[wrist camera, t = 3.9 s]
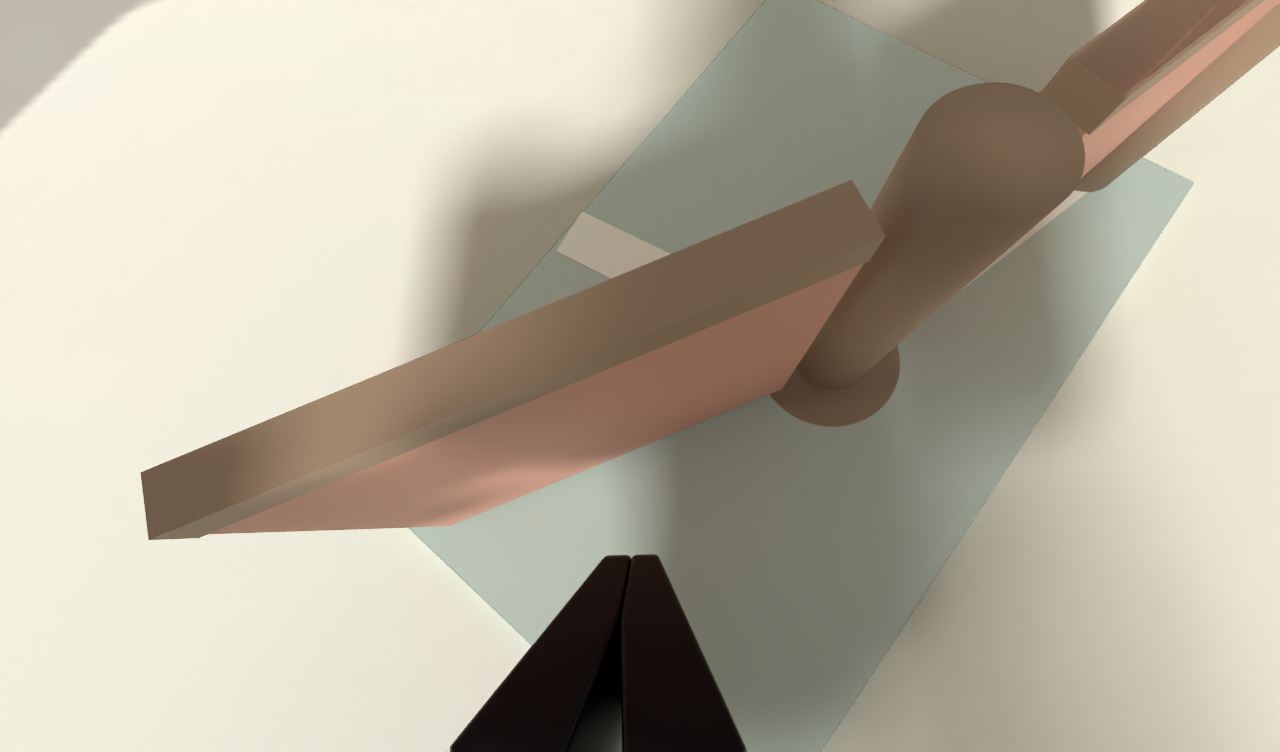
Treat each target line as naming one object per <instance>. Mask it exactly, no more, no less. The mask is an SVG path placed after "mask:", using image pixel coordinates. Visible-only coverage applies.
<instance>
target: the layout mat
mask: <svg viewBox="0 0 1280 752" xmlns="http://www.w3.org/2000/svg"><path fill="white" fill-rule="evenodd" d="M979 83H987V82H985V81H983V80H981V79H979V78H977V77H975V76H973V75H971V74H969V73H967V72H965V71H963V70H960V69H958V68H956V67H954V66H952V65H950V64H948V63H946V62H944V61H942V60H940V59H938V58H936V57H934V56H931V55H929V54H927V53H925V52H923V51H921V50H919V49H917V48H915V47H913V46H911V45H909V44H907V43H905V42H903V41H900V40H898V39H896V38H894V37H892V36H890V35H888V34H886V33H884V32H882V31H880V30H878V29H876V28H874V27H871V26H869V25H867V24H865V23H863V22H861V21H859V20H857V19H855V18H853V17H851V16H849V15H847V14H845V13H842V12H840V11H838V10H836V9H834V8H832V7H830V6H828V5H826V4H824V3H822V2H820V1H818V0H765V2H764V3H763V4H762V5H761V6H760V7H759V9H758V10H757V11H756V12H755V13H754V14H753V16H752V17H751V18H750V19H749V20H748V21H747V22H746V24H745V25H744V26H743V27H742V28H741V29H740V31H739V32H738V33H737V34H736V35H735V36H734V38H733V39H732V40H731V41H730V42H729V43H728V44H727V46H726V47H725V48H724V49H723V50H722V51H721V53H720V54H719V55H718V56H717V57H716V58H715V60H714V61H713V62H712V63H711V64H710V65H709V67H708V68H707V69H706V70H705V71H704V72H703V73H702V75H701V76H700V77H699V78H698V79H697V80H696V82H695V83H694V84H693V85H692V86H691V87H690V89H689V90H688V91H687V92H686V93H685V94H684V96H683V97H682V98H681V99H680V100H679V101H678V102H677V104H676V105H675V106H674V107H673V108H672V109H671V111H670V112H669V113H668V114H667V115H666V116H665V118H664V119H663V120H662V121H661V122H660V123H659V125H658V126H657V127H656V128H655V129H654V130H653V131H652V133H651V134H650V135H649V136H648V137H647V138H646V140H645V141H644V142H643V143H642V144H641V145H640V147H639V148H638V149H637V150H636V151H635V152H634V153H633V155H632V156H631V157H630V158H629V159H628V160H627V162H626V163H625V164H624V165H623V166H622V167H621V169H620V170H619V171H618V172H617V173H616V174H615V176H614V177H613V178H612V179H611V180H610V181H609V182H608V184H607V185H606V186H605V187H604V188H603V189H602V191H601V192H600V193H599V194H598V195H597V196H596V198H595V199H594V200H593V201H592V202H591V203H590V205H589V206H588V207H587V208H586V209H585V210H584V211H583V212H581V214H580V215H579V217H578V218H577V220H576V221H575V222H574V223H573V224H572V225H571V227H570V228H569V229H568V230H567V231H566V232H565V234H564V235H563V236H562V237H561V238H560V239H559V240H558V242H557V243H556V244H555V245H554V246H553V247H552V249H551V250H550V251H549V252H548V253H547V254H546V256H545V257H544V258H543V259H542V260H541V261H540V263H539V264H538V265H537V266H536V267H535V268H534V269H533V271H532V272H531V273H530V274H529V275H528V276H527V278H526V279H525V280H524V281H523V282H522V283H521V285H520V286H519V287H518V288H517V289H516V290H515V291H514V293H513V294H512V295H511V296H510V297H509V298H508V300H507V301H506V302H505V303H504V304H503V305H502V307H501V308H500V309H499V310H498V311H497V312H496V314H495V315H494V316H493V317H492V318H491V319H490V320H489V322H488V323H487V324H486V325H485V326H484V327H483V329H482V330H481V331H480V332H479V333H481V332H483V331H485V330H488V329H490V328H493V327H495V326H498V325H500V324H502V323H505V322H507V321H510V320H512V319H515V318H517V317H519V316H522V315H524V314H527V313H529V312H532V311H534V310H536V309H539V308H541V307H544V306H546V305H549V304H551V303H553V302H556V301H558V300H561V299H563V298H566V297H568V296H570V295H573V294H575V293H578V292H580V291H583V290H585V289H587V288H590V287H592V286H595V285H597V284H600V283H602V282H604V281H607V280H609V279H612V278H614V277H617V276H619V275H621V274H624V273H626V272H629V271H631V270H634V269H636V268H638V267H641V266H643V265H646V264H648V263H651V262H653V261H655V260H658V259H660V258H663V257H665V256H667V255H670V254H672V253H675V252H677V251H680V250H682V249H684V248H687V247H689V246H692V245H694V244H697V243H699V242H701V241H704V240H706V239H709V238H711V237H714V236H716V235H718V234H721V233H723V232H726V231H728V230H731V229H733V228H735V227H738V226H740V225H743V224H745V223H748V222H750V221H752V220H755V219H757V218H760V217H762V216H765V215H767V214H769V213H772V212H774V211H777V210H779V209H782V208H784V207H786V206H789V205H791V204H794V203H796V202H799V201H801V200H803V199H806V198H808V197H811V196H813V195H816V194H818V193H820V192H823V191H825V190H828V189H830V188H833V187H835V186H837V185H840V184H842V183H845V182H847V181H850V180H852V181H853V182H854V184H855V186H856V187H857V189H858V191H859V192H860V194H861V196H862V197H863V199H864V201H865V202H866V204H867V206H868V207H869V209H871V207H872V205H873V204H874V202H875V200H876V198H877V196H878V195H879V193H880V191H881V189H882V187H883V186H884V184H885V182H886V180H887V178H888V177H889V175H890V173H891V171H892V169H893V168H894V166H895V164H896V162H897V160H898V159H899V157H900V155H901V153H902V152H903V150H904V148H905V146H906V144H907V143H908V141H909V139H910V137H911V135H912V134H913V132H914V130H915V128H916V126H917V125H918V123H919V121H920V119H921V118H922V116H923V115H924V113H925V112H926V111H927V110H928V108H929V107H930V106H931V105H932V104H933V103H935V102H936V101H937V100H938V99H939V98H941V97H943V96H944V95H946V94H947V93H950V92H952V91H954V90H956V89H959V88H962V87H964V86H969V85H973V84H979ZM1193 184H1194V182H1192V181H1190V180H1188V179H1186V178H1184V177H1182V176H1180V175H1178V174H1176V173H1174V172H1172V171H1170V170H1167V169H1165V168H1163V167H1161V166H1159V165H1157V164H1155V163H1153V162H1151V161H1149V160H1147V159H1145V158H1143V157H1142V158H1141V159H1140V160H1138V161H1137V162H1136V163H1135V164H1133V165H1132V166H1131V167H1130V168H1129V169H1127V170H1126V171H1125V172H1124V173H1122V174H1121V175H1120V176H1119V177H1117V178H1116V179H1115V180H1114V181H1113V182H1111V183H1110V184H1109V185H1108V186H1106V187H1105V188H1103V189H1101V190H1098V191H1094V192H1081V191H1075V190H1074V191H1073V192H1072V193H1071V194H1070V196H1069V197H1068V198H1066V199H1065V200H1064V201H1063V202H1062V203H1061V204H1060V205H1059V206H1057V207H1056V208H1055V209H1054V210H1053V211H1052V212H1051V213H1049V214H1048V215H1047V216H1046V217H1045V218H1044V219H1042V220H1041V221H1040V222H1039V223H1038V224H1037V225H1036V226H1034V227H1033V228H1032V229H1031V230H1030V231H1029V232H1027V233H1026V234H1025V235H1024V236H1023V237H1022V238H1021V239H1019V240H1018V241H1017V242H1016V243H1015V244H1014V245H1012V246H1011V247H1010V248H1009V249H1008V250H1007V251H1006V252H1004V253H1003V254H1002V255H1001V256H1000V257H999V258H997V259H996V260H995V261H994V262H993V263H992V264H991V265H989V266H988V267H987V268H986V269H985V270H984V271H982V272H981V273H980V274H979V275H978V276H977V277H976V278H974V279H973V280H972V281H971V282H970V283H969V284H967V285H966V286H965V287H964V288H963V289H962V290H961V291H959V292H958V293H957V294H956V295H955V296H954V297H952V298H951V299H950V300H949V301H948V302H947V303H946V304H944V305H943V306H942V307H941V308H940V309H939V310H937V311H936V312H935V313H934V314H933V315H932V316H931V317H929V318H928V319H927V320H926V321H925V322H924V323H922V324H921V325H920V326H919V327H918V328H917V329H916V330H914V331H913V332H912V333H911V334H910V335H909V336H907V337H906V338H905V339H904V340H903V341H902V342H901V343H899V344H898V345H897V346H898V350H899V356H900V372H899V378H898V381H896V382H897V384H896V386H895V390H894V392H893V391H892V392H893V393H891V394H892V395H891V397H890V398H889V400H888V401H887V402H886V403H885V405H884V406H883V407H882V408H880V410H878V411H877V412H876V413H875V414H873V415H872V416H870V417H869V418H867V419H865V420H863V421H860V422H857V423H854V424H851V425H846V426H838V427H827V426H819V425H814V424H811V423H808V422H804V421H802V420H800V419H798V418H796V417H794V416H792V415H791V414H789V413H788V412H786V411H785V410H784V409H783V408H781V407H780V406H779V405H778V404H777V403H776V402H775V401H776V400H775V401H774V400H773V398H772V397H771V396H770V394H769V395H767V396H764V397H762V398H759V399H757V400H754V401H752V402H750V403H747V404H745V405H742V406H740V407H738V408H735V409H733V410H730V411H728V412H725V413H723V414H721V415H718V416H716V417H713V418H711V419H708V420H706V421H704V422H701V423H699V424H696V425H694V426H691V427H689V428H687V429H684V430H682V431H679V432H677V433H674V434H672V435H670V436H667V437H665V438H662V439H660V440H657V441H655V442H653V443H650V444H648V445H645V446H643V447H640V448H638V449H636V450H633V451H631V452H628V453H626V454H624V455H621V456H619V457H616V458H614V459H611V460H609V461H607V462H604V463H602V464H599V465H597V466H594V467H592V468H590V469H587V470H585V471H582V472H580V473H577V474H575V475H573V476H570V477H568V478H565V479H563V480H560V481H558V482H556V483H553V484H551V485H548V486H546V487H543V488H541V489H539V490H536V491H534V492H531V493H529V494H526V495H524V496H522V497H519V498H517V499H514V500H512V501H510V502H507V503H505V504H502V505H500V506H497V507H495V508H493V509H490V510H488V511H485V512H483V513H480V514H478V515H476V516H473V517H471V518H468V519H466V520H463V521H461V522H459V523H456V524H454V525H451V526H438V527H408V528H409V529H410V530H411V531H412V532H413V533H414V534H415V535H416V536H417V537H418V538H419V539H420V540H421V541H422V542H423V543H425V544H426V545H427V546H428V547H429V548H430V549H431V550H432V551H433V552H434V553H435V554H436V555H437V556H438V557H439V558H440V559H441V560H442V561H443V562H444V563H446V564H447V565H448V566H449V567H450V568H451V569H452V570H453V571H454V572H455V573H456V574H457V575H458V576H459V577H460V578H461V579H462V580H463V581H464V582H465V583H467V584H468V585H469V586H470V587H471V588H472V589H473V590H474V591H475V592H476V593H477V594H478V595H479V596H480V597H481V598H482V599H483V600H484V601H485V602H486V603H487V604H489V605H490V606H491V607H492V608H493V609H494V610H495V611H496V612H497V613H498V614H499V615H500V616H501V617H502V618H503V619H504V620H505V621H506V622H507V623H508V624H510V625H511V626H512V627H513V628H514V629H515V630H516V631H517V632H518V633H519V634H520V635H521V636H522V637H523V638H524V639H525V640H526V641H527V642H528V643H529V644H531V645H533V644H534V643H535V641H536V640H537V639H538V638H539V637H540V635H541V634H542V633H543V632H544V630H545V629H546V628H547V627H548V625H549V624H550V623H551V622H552V620H553V619H554V618H555V617H556V616H557V614H558V613H559V612H560V611H561V609H562V608H563V607H564V606H565V604H566V603H567V602H568V601H569V600H570V598H571V597H572V596H573V595H574V593H575V592H576V591H577V590H578V588H579V587H580V586H581V585H582V583H583V582H584V581H585V580H586V579H587V577H588V576H589V575H590V574H591V572H592V571H593V570H594V569H595V567H596V566H597V565H598V564H599V563H600V561H601V560H602V559H603V558H604V557H605V556H608V555H629V556H630V557H631V559H632V557H633V556H634V555H639V554H655V555H658V557H659V558H660V560H661V562H662V565H663V567H664V569H665V571H666V573H667V575H668V578H669V580H670V582H671V584H672V586H673V589H674V591H675V593H676V595H677V597H678V600H679V602H680V604H681V606H682V608H683V611H684V613H685V615H686V617H687V619H688V622H689V624H690V626H691V628H692V630H693V632H694V635H695V637H696V639H697V641H698V643H699V646H700V648H701V650H702V652H703V654H704V657H705V659H706V661H707V663H708V665H709V668H710V670H711V672H712V674H713V676H714V679H715V681H716V683H717V685H718V687H719V689H720V692H721V694H722V696H723V698H724V700H725V703H726V705H727V707H728V709H729V711H730V714H731V716H732V718H733V720H734V722H735V725H736V727H737V729H738V731H739V733H740V736H741V738H742V740H743V742H744V744H745V746H746V749H747V752H821V751H822V750H823V748H824V746H825V745H826V743H827V742H828V740H829V739H830V737H831V736H832V734H833V733H834V731H835V730H836V728H837V727H838V725H839V724H840V722H841V721H842V719H843V718H844V716H845V714H846V713H847V711H848V710H849V708H850V707H851V705H852V704H853V702H854V701H855V699H856V698H857V696H858V695H859V693H860V692H861V690H862V689H863V687H864V685H865V684H866V682H867V681H868V679H869V678H870V676H871V675H872V673H873V672H874V670H875V669H876V667H877V666H878V664H879V663H880V661H881V660H882V658H883V657H884V655H885V653H886V652H887V650H888V649H889V647H890V646H891V644H892V643H893V641H894V640H895V638H896V637H897V635H898V634H899V632H900V631H901V629H902V628H903V626H904V625H905V623H906V621H907V620H908V618H909V617H910V615H911V614H912V612H913V611H914V609H915V608H916V606H917V605H918V603H919V602H920V600H921V599H922V597H923V596H924V594H925V592H926V591H927V589H928V588H929V586H930V585H931V583H932V582H933V580H934V579H935V577H936V576H937V574H938V573H939V571H940V570H941V568H942V567H943V565H944V564H945V562H946V560H947V559H948V557H949V556H950V554H951V553H952V551H953V550H954V548H955V547H956V545H957V544H958V542H959V541H960V539H961V538H962V536H963V535H964V533H965V532H966V530H967V528H968V527H969V525H970V524H971V522H972V521H973V519H974V518H975V516H976V515H977V513H978V512H979V510H980V509H981V507H982V506H983V504H984V503H985V501H986V500H987V498H988V496H989V495H990V493H991V492H992V490H993V489H994V487H995V486H996V484H997V483H998V481H999V480H1000V478H1001V477H1002V475H1003V474H1004V472H1005V471H1006V469H1007V467H1008V466H1009V464H1010V463H1011V461H1012V460H1013V458H1014V457H1015V455H1016V454H1017V452H1018V451H1019V449H1020V448H1021V446H1022V445H1023V443H1024V442H1025V440H1026V439H1027V437H1028V435H1029V434H1030V432H1031V431H1032V429H1033V428H1034V426H1035V425H1036V423H1037V422H1038V420H1039V419H1040V417H1041V416H1042V414H1043V413H1044V411H1045V410H1046V408H1047V407H1048V405H1049V403H1050V402H1051V400H1052V399H1053V397H1054V396H1055V394H1056V393H1057V391H1058V390H1059V388H1060V387H1061V385H1062V384H1063V382H1064V381H1065V379H1066V378H1067V376H1068V375H1069V373H1070V371H1071V370H1072V368H1073V367H1074V365H1075V364H1076V362H1077V361H1078V359H1079V358H1080V356H1081V355H1082V353H1083V352H1084V350H1085V349H1086V347H1087V346H1088V344H1089V342H1090V341H1091V339H1092V338H1093V336H1094V335H1095V333H1096V332H1097V330H1098V329H1099V327H1100V326H1101V324H1102V323H1103V321H1104V320H1105V318H1106V317H1107V315H1108V314H1109V312H1110V310H1111V309H1112V307H1113V306H1114V304H1115V303H1116V301H1117V300H1118V298H1119V297H1120V295H1121V294H1122V292H1123V291H1124V289H1125V288H1126V286H1127V285H1128V283H1129V282H1130V280H1131V278H1132V277H1133V275H1134V274H1135V272H1136V271H1137V269H1138V268H1139V266H1140V265H1141V263H1142V262H1143V260H1144V259H1145V257H1146V256H1147V254H1148V253H1149V251H1150V249H1151V248H1152V246H1153V245H1154V243H1155V242H1156V240H1157V239H1158V237H1159V236H1160V234H1161V233H1162V231H1163V230H1164V228H1165V227H1166V225H1167V224H1168V222H1169V221H1170V219H1171V217H1172V216H1173V214H1174V213H1175V211H1176V210H1177V208H1178V207H1179V205H1180V204H1181V202H1182V201H1183V199H1184V198H1185V196H1186V195H1187V193H1188V192H1189V190H1190V189H1191V187H1192V185H1193ZM889 354H890V353H889ZM889 354H888V355H889ZM888 355H887V356H888ZM890 357H891V356H890ZM883 358H884V357H883ZM886 358H888V357H886ZM892 358H893V356H892ZM892 358H891V359H892ZM888 359H889V358H888ZM881 360H882V359H881ZM885 360H886V359H885ZM882 362H884V361H882ZM895 362H896V361H895ZM880 363H881V362H880ZM885 363H886V362H885ZM891 363H893V362H891ZM889 364H890V363H889ZM893 364H894V363H893ZM883 365H884V364H883ZM889 366H890V365H889ZM891 366H893V365H891ZM877 367H879V366H877ZM882 367H883V366H882ZM884 367H885V366H884ZM884 367H883V368H884ZM872 369H873V368H872ZM872 369H871V370H872ZM874 369H875V368H874ZM891 369H892V368H891ZM876 370H877V368H876ZM882 370H883V369H882ZM887 370H888V368H887ZM887 370H886V371H887ZM889 370H890V369H889ZM798 371H799V370H798ZM884 371H885V370H884ZM891 371H892V370H891ZM896 371H897V370H896ZM875 372H877V371H875ZM891 373H892V372H891ZM891 373H890V372H889V374H891ZM796 374H797V373H796ZM873 374H874V373H873ZM875 374H876V373H875ZM879 374H880V373H879ZM864 375H865V374H864ZM869 375H870V374H869ZM880 375H882V374H880ZM883 375H884V377H885V375H886V373H885V374H883ZM895 375H896V374H895ZM895 375H894V376H895ZM791 376H793V375H791ZM871 376H872V374H871ZM888 376H889V375H888ZM897 376H898V375H897ZM873 377H875V376H873ZM879 377H881V376H879ZM886 377H887V376H886ZM890 377H891V376H890ZM892 377H893V376H892ZM792 378H796V377H792ZM797 378H798V377H797ZM797 378H796V379H797ZM801 378H804V377H801ZM801 378H800V379H801ZM868 378H869V377H868ZM877 378H878V377H877ZM882 378H883V377H882ZM873 379H874V378H873ZM888 379H889V378H888ZM788 380H791V379H788ZM794 380H795V379H794ZM803 380H804V379H803ZM867 380H868V379H867ZM890 380H891V379H890ZM892 380H893V379H892ZM870 381H871V380H870ZM877 381H878V380H877ZM887 381H889V380H887ZM795 382H796V381H795ZM800 382H801V381H800ZM857 382H858V381H857ZM861 382H862V381H861ZM866 382H867V381H866ZM875 382H876V381H875ZM883 382H884V381H883ZM891 382H892V381H891ZM894 382H895V380H894ZM894 382H893V384H894ZM793 383H794V382H793ZM862 383H863V382H862ZM868 383H869V382H868ZM876 383H877V382H876ZM876 383H874V384H876ZM879 383H880V381H879ZM807 384H808V383H807ZM856 384H857V383H856ZM856 384H855V385H856ZM859 384H861V383H859ZM859 384H858V385H859ZM864 384H865V383H864ZM870 384H872V383H870ZM877 384H878V383H877ZM889 384H890V383H889ZM789 385H790V384H789ZM792 385H793V384H792ZM794 385H795V384H794ZM799 385H800V384H799ZM804 385H805V384H804ZM809 385H810V383H809ZM851 385H852V384H851ZM858 385H857V386H858ZM807 386H808V385H807ZM852 386H853V387H854V385H852ZM860 386H861V385H860ZM860 386H859V387H860ZM864 386H865V385H864ZM880 386H881V385H880ZM883 386H884V385H883ZM785 387H788V386H785ZM791 387H792V386H791ZM808 387H809V386H808ZM893 387H894V386H893ZM846 388H847V387H846ZM861 388H863V387H861ZM864 388H865V387H864ZM864 388H863V389H862V390H861V391H863V390H864ZM873 388H874V387H873ZM879 388H880V387H879ZM889 388H891V387H890V386H889ZM790 389H791V388H790ZM792 389H793V387H792ZM796 389H797V388H796ZM801 389H802V388H801ZM842 389H844V388H842ZM852 389H853V390H854V388H852ZM857 389H859V388H857ZM857 389H856V390H857ZM876 389H877V387H876ZM881 389H882V388H881ZM891 389H892V388H891ZM797 390H798V389H797ZM797 390H796V391H795V389H794V391H795V392H798V391H797ZM825 390H826V389H825ZM853 390H852V391H853ZM878 390H879V389H878ZM883 390H884V389H883ZM888 390H889V389H888ZM781 391H782V390H781ZM781 391H780V392H781ZM787 391H788V390H787ZM799 391H801V390H799ZM804 391H805V390H804ZM807 391H808V390H806V392H807ZM810 391H813V390H811V389H810ZM827 391H828V390H827ZM832 391H833V390H832ZM839 391H840V390H839ZM841 391H843V390H841ZM850 391H851V390H850ZM861 391H860V392H861ZM867 391H868V390H867ZM870 391H871V389H870ZM872 391H873V389H872ZM789 392H790V390H789ZM789 392H787V393H789ZM791 392H792V390H791ZM801 392H802V391H801ZM817 392H818V391H817ZM830 392H831V390H830ZM835 392H836V390H835ZM846 392H847V391H846ZM857 392H858V390H857ZM880 392H881V393H882V391H880ZM778 393H779V392H777V394H778ZM784 393H786V390H785V392H784ZM798 393H799V392H798ZM803 393H804V392H803ZM803 393H802V395H803ZM808 393H809V392H808ZM814 393H816V392H814ZM819 393H821V392H819ZM841 393H842V392H841ZM851 393H852V392H851ZM851 393H850V394H851ZM854 393H855V392H854ZM868 393H869V392H868ZM871 393H872V392H871ZM883 393H884V392H883ZM777 394H776V395H777ZM829 394H830V393H829ZM839 394H840V393H839ZM856 394H857V393H856ZM856 394H855V395H856ZM861 394H862V392H861ZM861 394H860V395H861ZM885 394H887V393H885ZM779 395H780V394H779ZM796 395H797V394H796ZM807 395H808V394H807ZM810 395H811V393H810ZM818 395H819V394H818ZM820 395H821V394H820ZM825 395H826V392H825ZM846 395H847V394H846ZM848 395H849V394H848ZM774 396H775V395H774ZM787 396H788V395H787ZM789 396H790V395H789ZM814 396H815V395H814ZM814 396H812V397H814ZM843 396H844V394H843ZM870 396H871V394H870ZM872 396H873V395H872ZM796 397H797V396H796ZM798 397H799V396H798ZM798 397H797V399H799V398H798ZM801 397H802V396H801ZM829 397H830V396H829ZM833 397H835V396H833ZM839 397H840V396H839ZM868 397H869V396H868ZM874 397H875V398H876V395H875V396H874ZM882 397H883V396H882ZM781 398H782V399H783V397H781ZM785 398H786V397H785ZM788 398H789V397H788ZM788 398H786V399H787V400H788ZM790 398H791V397H790ZM802 398H804V397H802ZM802 398H801V399H802ZM818 398H819V397H818ZM827 398H828V397H827ZM831 398H832V395H831ZM835 398H836V397H835ZM849 398H850V397H849ZM853 398H854V397H852V399H853ZM858 398H859V397H858ZM775 399H777V400H778V398H775ZM786 399H785V401H787V400H786ZM793 399H794V398H793ZM810 399H811V398H810ZM837 399H838V398H837ZM854 399H855V398H854ZM859 399H860V398H859ZM862 399H864V398H862ZM869 399H870V398H869ZM823 400H824V398H823ZM823 400H822V401H823ZM839 400H840V399H838V401H839ZM856 400H857V399H856ZM873 400H874V398H873ZM791 401H792V400H791ZM793 401H794V400H793ZM797 401H798V400H797ZM807 401H808V400H807ZM827 401H828V400H827ZM835 401H836V400H835ZM838 401H837V402H838ZM847 401H848V400H847ZM799 402H801V401H799ZM810 402H811V401H810ZM816 402H818V401H816ZM816 402H815V403H816ZM832 402H833V401H832ZM837 402H835V403H837ZM842 402H844V401H843V400H842ZM858 402H859V401H858ZM858 402H857V403H858ZM861 402H862V401H861ZM866 402H867V401H866ZM878 402H879V401H878ZM783 403H784V402H783ZM789 403H790V402H789ZM791 403H792V402H791ZM811 403H812V402H811ZM847 403H848V402H847ZM851 403H853V402H851ZM851 403H850V404H851ZM876 403H877V402H876ZM796 404H797V403H796ZM801 404H802V403H801ZM803 404H804V403H803ZM820 404H822V403H820ZM830 404H831V403H830ZM850 404H849V405H850ZM862 404H863V403H862ZM871 404H872V403H871ZM789 405H790V404H789ZM793 405H795V404H793V403H792V406H793ZM799 405H800V404H799ZM799 405H798V406H799ZM804 405H805V404H804ZM810 405H811V404H810ZM823 405H824V404H823ZM831 405H832V404H831ZM792 406H791V407H792ZM798 406H797V407H798ZM800 406H801V405H800ZM817 406H818V405H817ZM829 406H830V405H829ZM841 406H843V405H842V404H841ZM813 407H814V406H813ZM819 407H820V406H819ZM830 407H831V406H830ZM837 407H838V406H837ZM860 407H861V406H860ZM865 407H866V406H865ZM799 408H800V407H799ZM804 408H806V407H804ZM845 408H846V407H845ZM796 409H797V408H796ZM813 409H814V408H813ZM813 409H812V410H813ZM817 409H818V408H817ZM829 409H830V408H829ZM852 409H853V408H852ZM864 409H865V408H864ZM802 410H804V409H803V408H802ZM802 410H801V411H802ZM839 410H840V409H839ZM848 410H850V409H848ZM854 410H855V409H854ZM808 411H809V410H808ZM817 411H818V410H817ZM821 411H822V410H821ZM833 411H834V409H833ZM851 411H852V410H851ZM868 411H869V410H868ZM873 411H874V410H873ZM818 412H819V411H818ZM846 412H847V411H846ZM848 412H849V411H848ZM852 412H853V411H852ZM858 412H859V411H858ZM858 412H857V413H858ZM863 412H864V411H863ZM807 413H808V412H807ZM816 413H817V412H816ZM842 413H844V412H842ZM811 414H812V413H811ZM830 414H831V413H830ZM850 414H851V413H850ZM824 415H825V414H824ZM824 415H823V416H824ZM826 415H827V414H826ZM841 415H842V414H841ZM814 416H815V415H814ZM821 416H822V414H821ZM837 416H838V415H837ZM861 416H862V415H861ZM830 417H831V416H830ZM839 417H840V416H839ZM851 417H852V416H851ZM825 418H826V417H825ZM835 418H836V417H835ZM837 419H838V418H837ZM840 419H841V418H840ZM843 419H845V418H843ZM849 419H850V418H849ZM845 420H846V419H845ZM839 421H840V420H839ZM844 422H845V421H844ZM838 423H839V422H838ZM822 425H823V424H822ZM832 426H833V425H832Z"/></svg>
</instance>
